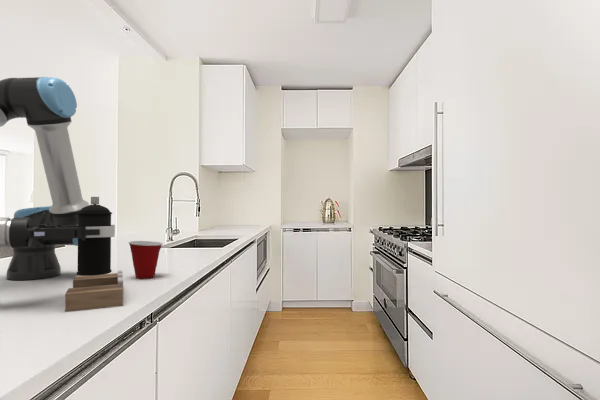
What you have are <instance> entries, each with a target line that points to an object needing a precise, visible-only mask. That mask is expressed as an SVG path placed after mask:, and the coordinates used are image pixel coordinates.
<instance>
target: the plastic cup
mask: <svg viewBox="0 0 600 400" xmlns="http://www.w3.org/2000/svg"><path fill="white" fill-rule="evenodd" d="M128 244H129V246H130V253H131V258H132V264H133V269H134V274H135V278H136V279H139V280H144V279H145V280H147V279H152V278H155V276H156V271H157V266H158V261H159V255H160V251H161V249H162V246H163V245H164V243H163V242H160V241H152V240H130V241H128Z"/></svg>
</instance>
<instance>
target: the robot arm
mask: <svg viewBox="0 0 600 400" xmlns="http://www.w3.org/2000/svg"><path fill="white" fill-rule="evenodd" d="M77 106H78V103H77V99H76V95H75V93H74V91H73V90H72V88H71V87H70V85H69V84H67V82H66V81H64V80H62V79H61V78H58V77H51V76H50V77H49V76H37V77H35V76H34V77H9V78H8V77H7V78H3V79H1V80H0V128H1V127H4V126H5V124H7V123H8V122H9V121H10V120H13V119H18V118H20V119H21V118H22V119H23V118H25V119H26V124H27V126H28V127H30V128H31V129H33V130H34V132H35V136H36V140H37V144H38V147H39V152H40V156H41V160H42V165H43V170H44V173H45V174H44V175H45V177H46V181H47V184H48V186H47V187H48V190H49V194H50V198H51V201H52V204H51V205H50V206H49V205H48V206H38V207H26V208H21V209H20V208H19V209H18V210H16V211H15V212H14V214H13V218H10V217H9V216H8V217H2V216H1V217H0V249H2V250H3V249H4V250H6V249H9V248H12V249H13V250H12V252H13V254H12V257H11V260H10V263H9V264H8V268H7V269H6V279H7V280H12V281H29V280H39V279H48V278H52V277H56V276H60V275H61V271H62V270H61V268H62V267H61V265H60V262H59V259H58V257H57V254H56V249H55V248H56V246H75V247H78V239H80V238H81V241H84V240H85V235H86V238H95V237H111V238H115V237H116V236H115V235H116V225H115V224H111V226H101V227H86V229H85V228H84V227H81V228H80V227H78V214H77V213H78V212H79V211H80V210H81V209H82V208H84V207H86V206H89V205H90V203H89V202H88V201H86V200H85V199H84V198H83V196H82V190H81V185H80V180H79V176H78V171H77V168H76V161H75V157H74V153H73V148H72V145H71V139H70V134H69V129H68V127H69V126H70V124H71V123H72V117H73V116H74V115H76V112H77Z"/></svg>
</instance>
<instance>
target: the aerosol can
mask: <svg viewBox="0 0 600 400" xmlns="http://www.w3.org/2000/svg"><path fill="white" fill-rule="evenodd" d="M77 214H78V227H80V228H81V227H84V228H85V229H86V227H101V226H111V225H112V215H113V212H112V211H110V209H109V208H107V207H106V206H103V205H101V204H100V196H90V204H89V206H86V207H84V208H82V209H81V210H80V211H79V212H78V213H77ZM111 245H112V237H95V238H86V235H85V240H84V241H81V238H80V239H78V246H77V271H76V273H75V274H76V276H93V275H103V274H112V268H111V263H112V261H111V259H112V258H111V257H112V254H111V253H112V246H111Z"/></svg>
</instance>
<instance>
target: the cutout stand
mask: <svg viewBox="0 0 600 400" xmlns="http://www.w3.org/2000/svg"><path fill="white" fill-rule="evenodd" d="M64 294H65V296H64V298H65V300H64V303H65V306H64V307H65V309H64V312H71V311H72V312H74V311H75V312H76V311H84V310H92V309H94V310H95V309H102V308H112V307H123V306H124V275H123V270H117V272H113V273H112V272H111V273H108V274H103V275H93V276H81V275H75V276H74V278H73V280H72V287H69V288H67V290H66V292H65V293H64Z"/></svg>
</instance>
